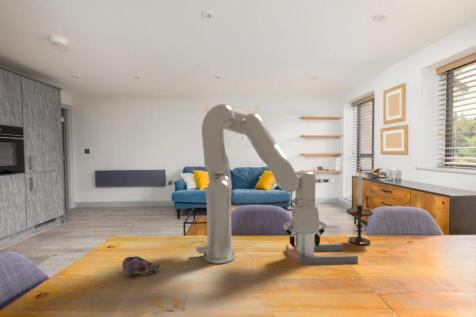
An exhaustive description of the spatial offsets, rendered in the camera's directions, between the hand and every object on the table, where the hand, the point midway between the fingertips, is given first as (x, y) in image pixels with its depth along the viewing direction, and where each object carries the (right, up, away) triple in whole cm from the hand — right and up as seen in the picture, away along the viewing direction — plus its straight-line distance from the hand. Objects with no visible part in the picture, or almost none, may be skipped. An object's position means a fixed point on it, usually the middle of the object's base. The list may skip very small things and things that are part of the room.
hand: (304, 245), depth 98 cm
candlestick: (+29, -4, +16) cm, 34 cm away
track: (+6, -5, 0) cm, 8 cm away
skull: (-60, -6, -13) cm, 62 cm away
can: (0, -5, 0) cm, 5 cm away
